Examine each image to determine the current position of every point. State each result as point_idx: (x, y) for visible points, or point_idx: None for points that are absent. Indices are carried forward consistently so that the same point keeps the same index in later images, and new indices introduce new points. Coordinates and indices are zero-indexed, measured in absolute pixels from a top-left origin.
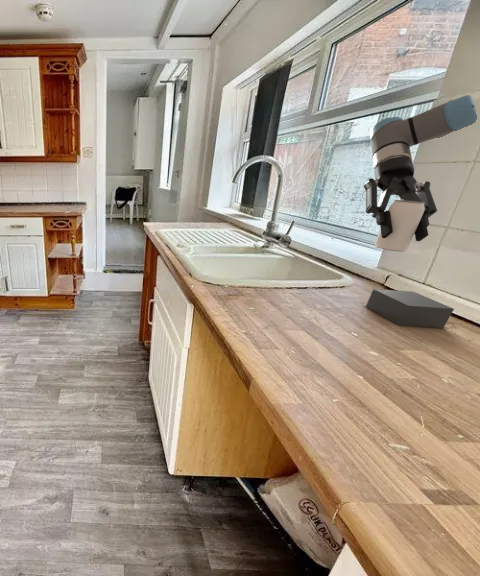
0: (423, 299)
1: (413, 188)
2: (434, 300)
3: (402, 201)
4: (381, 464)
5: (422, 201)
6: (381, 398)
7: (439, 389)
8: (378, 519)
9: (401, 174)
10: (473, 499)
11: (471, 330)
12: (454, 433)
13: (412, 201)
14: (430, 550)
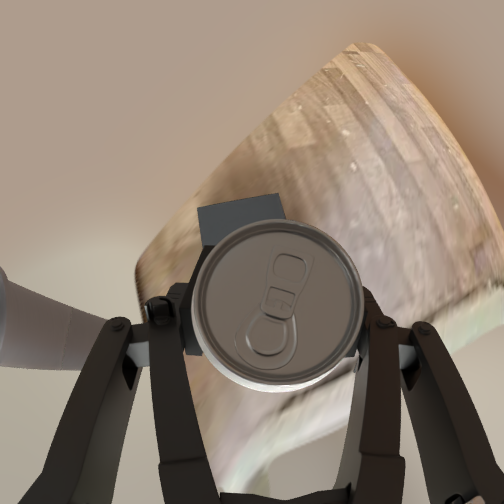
0: (223, 238)
1: (175, 483)
2: (202, 241)
3: (345, 252)
4: (370, 60)
5: (116, 426)
6: (358, 87)
7: (312, 97)
8: (376, 49)
9: None
10: (341, 52)
11: (159, 234)
12: (328, 71)
13: (224, 360)
14: (363, 44)
